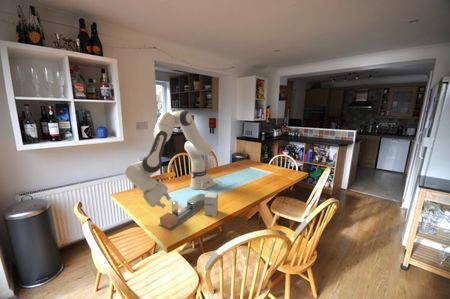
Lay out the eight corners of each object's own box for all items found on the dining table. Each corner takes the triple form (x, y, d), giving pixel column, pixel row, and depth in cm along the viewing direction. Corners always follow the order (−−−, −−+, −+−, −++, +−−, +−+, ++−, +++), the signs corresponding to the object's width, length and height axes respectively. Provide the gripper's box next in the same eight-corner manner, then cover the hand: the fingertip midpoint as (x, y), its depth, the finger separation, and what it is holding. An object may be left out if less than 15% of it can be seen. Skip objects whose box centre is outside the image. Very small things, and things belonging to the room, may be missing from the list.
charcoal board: (198, 199, 143) (198, 199, 143) (209, 203, 138) (209, 202, 138) (158, 225, 112) (158, 224, 112) (171, 231, 107) (171, 230, 107)
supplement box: (204, 215, 123) (203, 196, 120) (207, 209, 130) (206, 191, 127) (215, 216, 122) (215, 197, 119) (218, 210, 129) (218, 192, 126)
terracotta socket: (167, 219, 116) (167, 211, 115) (177, 223, 112) (177, 215, 111) (160, 224, 112) (159, 216, 111) (170, 228, 108) (170, 220, 107)
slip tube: (190, 205, 131) (190, 192, 129) (194, 207, 129) (194, 193, 127) (166, 221, 113) (166, 205, 111) (171, 223, 111) (170, 207, 109)
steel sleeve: (200, 200, 141) (200, 193, 140) (206, 202, 139) (206, 195, 137) (187, 208, 129) (186, 201, 128) (193, 210, 127) (193, 203, 126)
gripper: (145, 191, 102) (165, 208, 104) (159, 177, 122) (175, 192, 124) (137, 198, 103) (157, 216, 105) (152, 183, 123) (169, 198, 125)
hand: (167, 203), depth 115 cm, fingers open, 8 cm apart
